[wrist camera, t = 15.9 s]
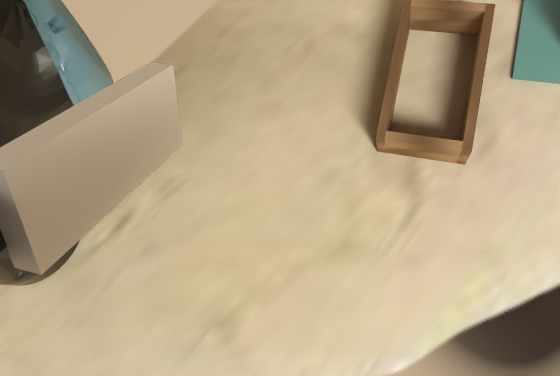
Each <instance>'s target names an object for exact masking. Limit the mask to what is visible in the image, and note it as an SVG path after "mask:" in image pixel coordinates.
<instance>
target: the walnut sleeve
mask: <svg viewBox="0 0 560 376" xmlns="http://www.w3.org/2000/svg"><path fill="white" fill-rule="evenodd" d="M494 9H495V4H486V3H470V2H454V1H438V0H403V4H402V9H401V14H400V18H399V23H398V28H397V33H396V38H395V43H394V48H393V53H392V58H391V63H390V68H389V73H388V78H387V83H386V88H385V93H384V98H383V103H382V108H381V113H380V118H379V123H378V128H377V133H376V146H377V151H379V152H385V153H392V154H399V155H405V156H412V157H418V158H425V159H432V160H438V161H445V162H452V163H458V164H466V162H467V160H468V158H469V156H470V154H471V152H472V146H473V140H474V133H475V127H476V121H477V115H478V109H479V102H480V96H481V90H482V84H483V77H484V71H485V65H486V59H487V53H488V46H489V40H490V34H491V28H492V21H493V15H494ZM409 29H411V30H423V31H436V32H448V33H461V34H473V35H477V40H476V46H475V52H474V58H473V64H472V70H471V76H470V82H469V88H468V94H467V100H466V106H465V112H464V118H463V124H462V131H461V137H460V141H457V140H450V139H443V138H435V137H428V136H421V135H414V134H406V133H399V132H392V131H390V126H391V121H392V116H393V111H394V105H395V100H396V95H397V90H398V85H399V80H400V75H401V70H402V65H403V59H404V54H405V49H406V44H407V39H408V34H409Z"/></svg>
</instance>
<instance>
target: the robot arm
mask: <svg viewBox="0 0 560 376" xmlns="http://www.w3.org/2000/svg"><path fill="white" fill-rule="evenodd" d="M181 146H183V140H182V133H181V125H180V117H179V109H178V101H177V93H176V85H175V77H174V69H173V65H171V64H163V63H154V62H150V63H149V64H147V65H145V66H144V67H142V68H140V69H138V70H136V71H135V72H133V73H131V74H129V75H127V76H126V77H124V78H122V79H120V80H119V81H117V82H115V83H113V80H112V77H111V74H110V72H109V70H108V68H107V67H106V65H105V63H104V62H103V60H102V58H101V57H100V55H99V53H98V52H97V50H96V49H95V47H94V46H93V44H92V43H91V41H90V40H89V38H88V37H87V35H86V34H85V33H84V31H83V30H82V28H81V27H80V26H79V24H78V23H77V21H76V20H75V19H74V17H73V16H72V15H71V13H70V12H69V10H68V9H67V8H66V7H65V5H64V4H63V2H62V1H61V0H0V284H1V285H28V284H32V283H36V282H38V281H41V280H43V279H45V278H47V277H48V276H50V275H51V274H53V273H54V272H56V271H57V270H58V269H59V268H60V267H61V266H62V265H63V264H64V263H65V262H66V261H67V260H68V259H69V257H70V256H71V255H72V253H73V252H74V250H75V248H76V246H77V245H78V243H79V241H80V239H81V238H82V237H83V236H84V235H86V234H87V233H88V232H89V231H90V230H91V229H92V228H93V227H94V226H95V225H96V224H98V223H99V222H100V221H101V220H102V219H103V218H104V217H105V216H106V215H107V214H108V213H110V212H111V211H112V210H113V209H114V208H115V207H116V206H117V205H118V204H119V203H120V202H122V201H123V200H124V199H125V198H126V197H127V196H128V195H129V194H130V193H131V192H132V191H134V190H135V189H136V188H137V187H138V186H139V185H140V184H141V183H142V182H143V181H144V180H146V179H147V178H148V177H149V176H150V175H151V174H152V173H153V172H154V171H155V170H156V169H158V168H159V167H160V166H161V165H162V164H163V163H164V162H165V161H166V160H167V159H168V158H169V157H171V156H172V155H173V154H174V153H175V152H176V151H177V150H178V149H179V148H180V147H181Z"/></svg>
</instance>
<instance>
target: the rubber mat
mask: <svg viewBox="0 0 560 376" xmlns="http://www.w3.org/2000/svg"><path fill="white" fill-rule="evenodd" d="M512 79H520V80H529V81H539V82H549V83H559V84H560V0H523V7H522V13H521V20H520V27H519V34H518V40H517V47H516V54H515V60H514V67H513V74H512Z"/></svg>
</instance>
